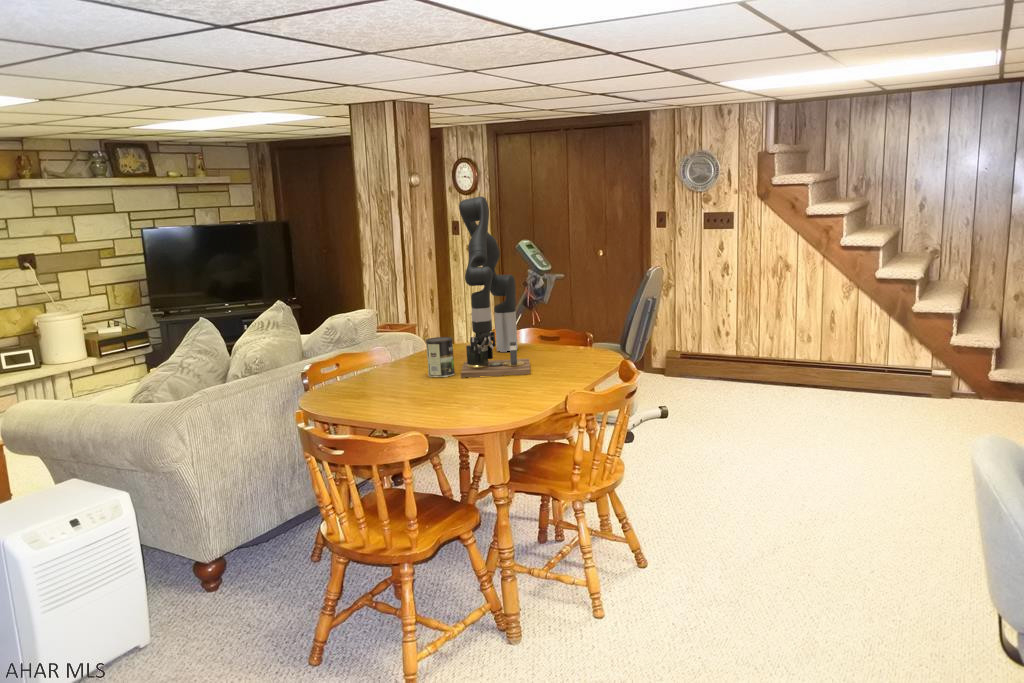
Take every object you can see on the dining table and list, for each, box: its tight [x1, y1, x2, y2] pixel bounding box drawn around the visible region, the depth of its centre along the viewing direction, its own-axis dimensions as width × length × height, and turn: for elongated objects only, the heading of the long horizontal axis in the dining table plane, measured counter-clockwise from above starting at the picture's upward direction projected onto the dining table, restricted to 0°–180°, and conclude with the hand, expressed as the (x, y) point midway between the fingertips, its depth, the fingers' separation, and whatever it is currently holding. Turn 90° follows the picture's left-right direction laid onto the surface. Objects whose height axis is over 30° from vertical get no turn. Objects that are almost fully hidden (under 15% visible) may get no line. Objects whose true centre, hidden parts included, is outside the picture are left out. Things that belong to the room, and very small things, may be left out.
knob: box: [504, 342, 524, 367], centre depth 314 cm, size 9×8×8 cm
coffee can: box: [425, 336, 456, 378], centre depth 311 cm, size 10×10×14 cm
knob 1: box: [465, 344, 489, 369], centre depth 314 cm, size 9×8×8 cm
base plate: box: [460, 358, 531, 379], centre depth 314 cm, size 22×26×3 cm
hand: (484, 361), depth 313 cm, fingers open, 8 cm apart
